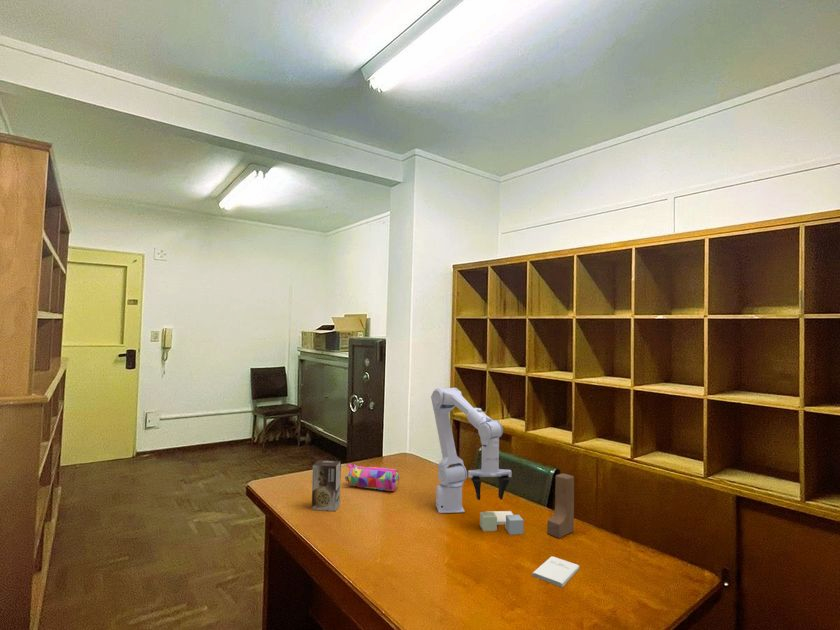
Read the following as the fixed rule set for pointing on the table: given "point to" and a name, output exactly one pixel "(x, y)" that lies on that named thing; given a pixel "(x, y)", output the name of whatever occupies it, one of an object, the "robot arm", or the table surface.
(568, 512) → the wooden block
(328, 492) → the coffee box
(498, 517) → the base tile
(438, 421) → the robot arm
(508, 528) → the slate cube
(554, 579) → the external hard drive
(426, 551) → the table surface
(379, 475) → the pencil case
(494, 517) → the sage cube
